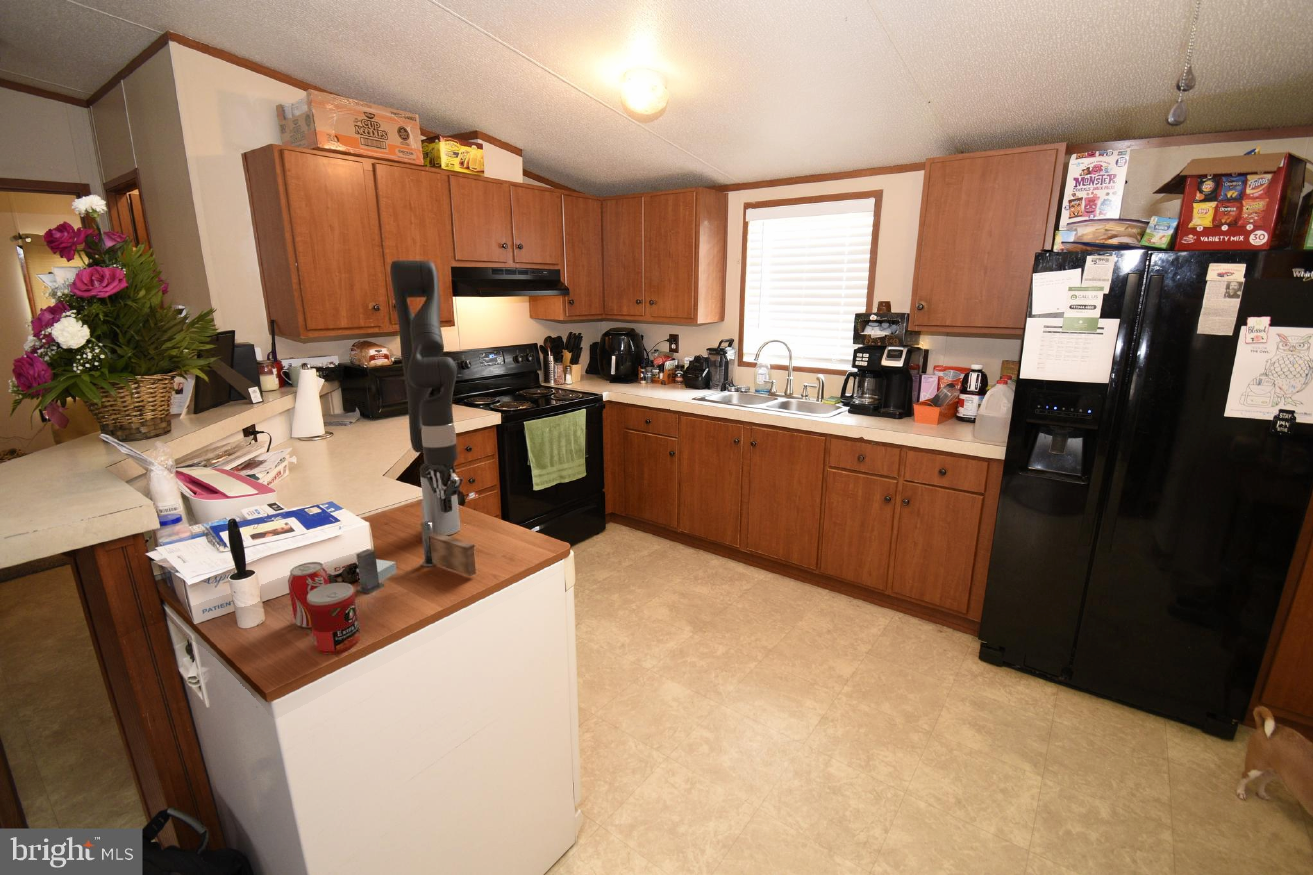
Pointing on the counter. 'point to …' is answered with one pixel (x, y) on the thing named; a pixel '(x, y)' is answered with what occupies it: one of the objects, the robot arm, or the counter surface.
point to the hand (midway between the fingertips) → (446, 511)
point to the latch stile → (368, 572)
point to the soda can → (305, 588)
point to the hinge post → (427, 543)
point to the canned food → (333, 617)
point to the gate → (452, 554)
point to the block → (385, 569)
